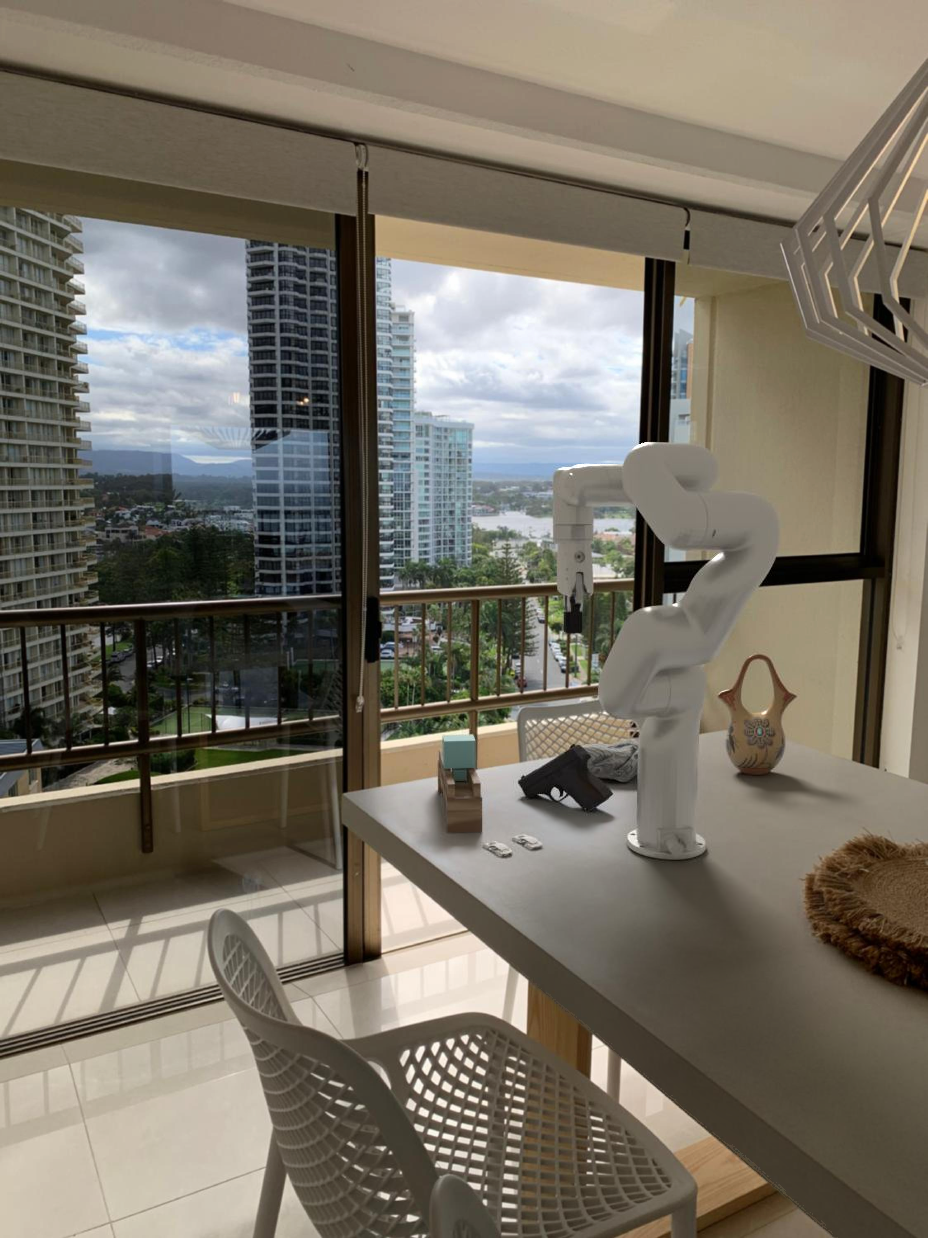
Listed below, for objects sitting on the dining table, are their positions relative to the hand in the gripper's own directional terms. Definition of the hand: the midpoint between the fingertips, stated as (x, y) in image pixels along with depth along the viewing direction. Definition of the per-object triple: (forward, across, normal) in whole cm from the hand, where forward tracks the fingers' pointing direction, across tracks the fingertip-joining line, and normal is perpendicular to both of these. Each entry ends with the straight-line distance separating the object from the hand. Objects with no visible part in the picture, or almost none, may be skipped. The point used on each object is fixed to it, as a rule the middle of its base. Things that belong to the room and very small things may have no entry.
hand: (573, 632), depth 173 cm
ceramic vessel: (+32, +9, -41) cm, 53 cm away
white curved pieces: (+33, -24, +16) cm, 44 cm away
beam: (+32, -5, +23) cm, 39 cm away
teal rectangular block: (+25, -6, +23) cm, 34 cm away
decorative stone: (+32, +12, -11) cm, 36 cm away
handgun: (+32, -4, +3) cm, 32 cm away
